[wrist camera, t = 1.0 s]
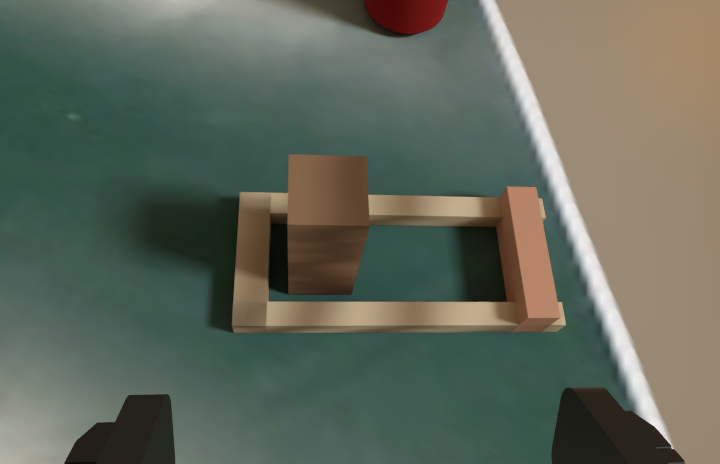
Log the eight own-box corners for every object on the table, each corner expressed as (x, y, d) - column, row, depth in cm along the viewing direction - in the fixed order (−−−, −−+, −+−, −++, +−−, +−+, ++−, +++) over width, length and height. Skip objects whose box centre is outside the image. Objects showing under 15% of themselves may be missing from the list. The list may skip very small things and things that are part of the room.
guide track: (234, 333, 36) (229, 318, 33) (241, 202, 40) (238, 180, 37) (556, 331, 38) (576, 317, 36) (534, 208, 42) (550, 187, 39)
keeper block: (288, 294, 37) (287, 224, 29) (289, 237, 39) (289, 154, 30) (351, 294, 38) (369, 225, 29) (349, 238, 40) (366, 156, 31)
